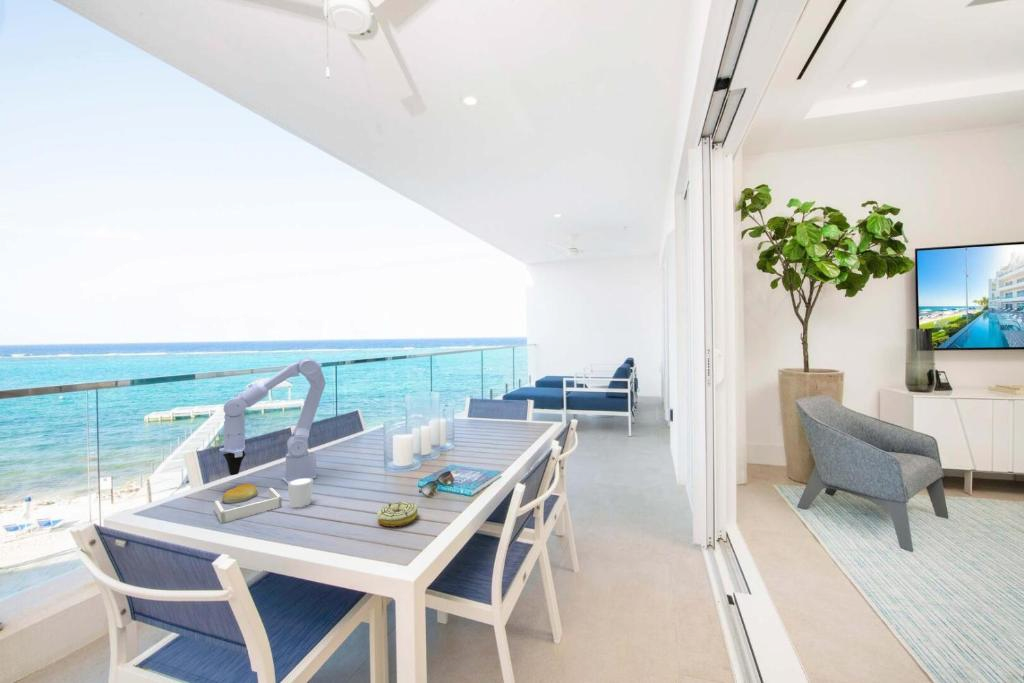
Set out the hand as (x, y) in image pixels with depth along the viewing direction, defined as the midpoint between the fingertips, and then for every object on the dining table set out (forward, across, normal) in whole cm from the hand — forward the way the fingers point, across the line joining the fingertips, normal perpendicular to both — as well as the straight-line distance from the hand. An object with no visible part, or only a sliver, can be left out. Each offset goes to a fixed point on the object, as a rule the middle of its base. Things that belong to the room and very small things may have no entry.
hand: (234, 474), depth 127 cm
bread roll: (+6, +9, 0) cm, 11 cm away
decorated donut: (+6, +59, +28) cm, 65 cm away
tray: (+5, +20, 0) cm, 21 cm away
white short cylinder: (+6, +28, +12) cm, 31 cm away
